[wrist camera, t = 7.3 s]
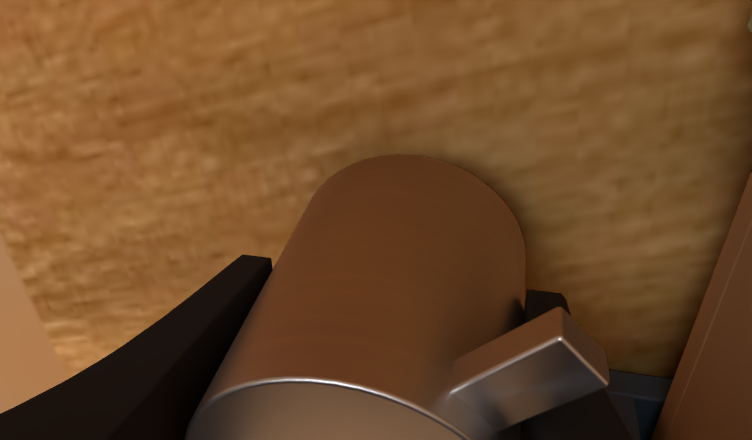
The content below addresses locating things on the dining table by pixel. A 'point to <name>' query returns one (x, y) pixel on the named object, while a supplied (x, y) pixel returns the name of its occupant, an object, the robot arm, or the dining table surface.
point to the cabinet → (638, 401)
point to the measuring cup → (398, 321)
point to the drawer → (718, 348)
